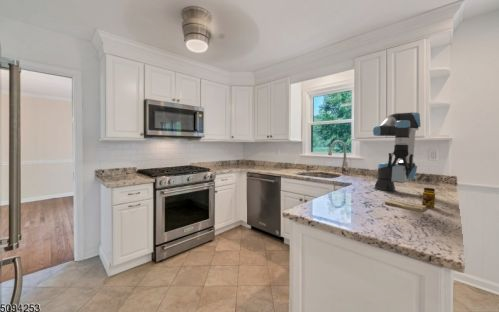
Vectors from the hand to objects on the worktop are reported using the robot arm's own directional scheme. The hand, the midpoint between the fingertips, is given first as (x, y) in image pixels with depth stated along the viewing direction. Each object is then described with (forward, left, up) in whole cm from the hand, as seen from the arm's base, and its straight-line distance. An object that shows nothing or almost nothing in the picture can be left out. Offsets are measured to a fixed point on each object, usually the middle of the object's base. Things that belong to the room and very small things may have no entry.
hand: (398, 179), depth 144 cm
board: (+3, +5, -16) cm, 17 cm away
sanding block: (0, 0, -1) cm, 1 cm away
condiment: (-8, +14, -16) cm, 23 cm away
